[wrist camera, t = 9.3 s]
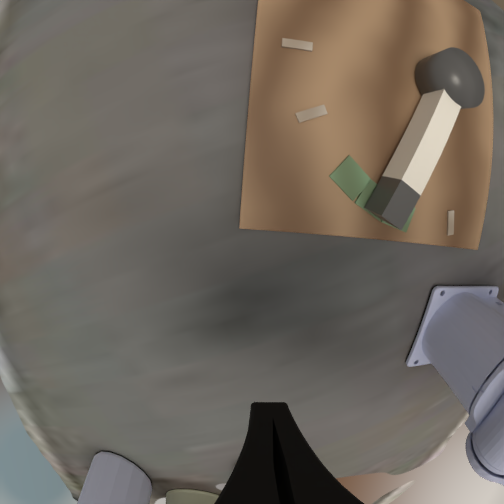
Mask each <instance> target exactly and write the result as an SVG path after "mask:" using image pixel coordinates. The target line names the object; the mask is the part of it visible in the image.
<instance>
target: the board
mask: <svg viewBox="0 0 504 504" xmlns="http://www.w3.org/2000/svg"><path fill="white" fill-rule="evenodd" d="M450 47H455V48H459V49H461V50H463V51H464V52H466V53H467V54H468V55H469V56H470V57H471V58H472V59H473V60H474V62H475V63H476V65H477V66H478V68H479V70H480V72H481V74H482V77H483V81H484V86H485V94H484V99H483V101H482V103H481V104H480V105H479V106H478V107H475V108H466V109H460V111H459V114H458V116H457V119H456V121H455V124H454V126H453V128H452V131H451V133H450V135H449V138H448V140H447V142H446V145H445V147H444V149H443V151H442V153H441V156H440V158H439V160H438V162H437V164H436V166H435V168H434V170H433V172H432V174H431V176H430V178H429V180H428V182H427V184H426V186H425V188H424V190H423V192H422V194H421V196H420V198H419V200H418V202H417V204H416V205H415V207H414V209H413V211H412V213H411V214H410V216H409V218H408V220H407V222H406V223H405V225H404V227H403V229H402V230H400V229H398V228H396V227H394V226H392V225H390V224H388V223H387V222H385V221H383V220H381V219H380V218H378V217H377V216H376V215H374V214H373V213H371V212H370V211H368V210H367V209H365V208H364V207H365V206H366V204H367V202H368V200H369V199H370V197H371V195H372V193H373V192H374V190H375V188H376V186H377V184H378V183H379V181H380V179H381V177H382V175H383V173H384V172H385V170H386V168H387V166H388V164H389V162H390V160H391V159H392V157H393V155H394V153H395V151H396V149H397V147H398V145H399V143H400V141H401V139H402V137H403V135H404V133H405V131H406V129H407V127H408V125H409V123H410V121H411V119H412V117H413V115H414V113H415V111H416V109H417V106H418V104H419V102H420V100H421V98H422V94H421V93H420V91H419V89H418V86H417V83H416V78H415V70H416V66H417V64H418V62H419V61H420V60H422V59H423V58H426V57H428V56H430V55H433V54H435V53H437V52H440V51H442V50H445V49H447V48H450ZM492 149H493V96H492V81H491V71H490V62H489V55H488V48H487V42H486V36H485V31H484V26H483V22H482V17H481V13H480V11H479V10H478V9H476V8H475V7H473V6H472V5H470V4H468V3H467V2H465V1H464V0H258V8H257V18H256V29H255V39H254V50H253V61H252V72H251V83H250V95H249V107H248V119H247V131H246V144H245V157H244V170H243V183H242V197H241V211H240V226H239V229H255V230H269V231H283V232H296V233H309V234H322V235H334V236H346V237H357V238H368V239H379V240H390V241H400V242H410V243H420V244H429V245H439V246H448V247H457V248H466V249H474V250H478V246H479V242H480V237H481V232H482V228H483V222H484V217H485V211H486V205H487V199H488V192H489V184H490V175H491V164H492Z"/></svg>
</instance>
